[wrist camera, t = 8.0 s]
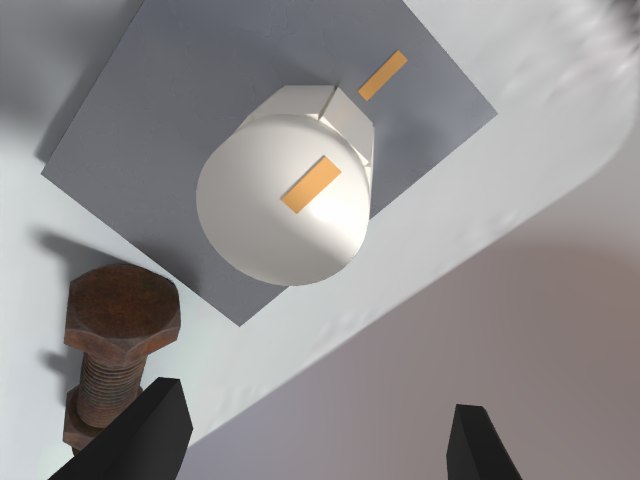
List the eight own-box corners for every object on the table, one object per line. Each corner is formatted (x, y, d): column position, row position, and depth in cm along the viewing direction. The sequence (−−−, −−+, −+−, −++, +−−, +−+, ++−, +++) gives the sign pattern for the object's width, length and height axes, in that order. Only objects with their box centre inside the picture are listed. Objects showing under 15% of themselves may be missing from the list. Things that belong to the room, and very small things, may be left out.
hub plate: (244, 314, 24) (224, 361, 21) (55, 166, 20) (-2, 195, 17) (492, 107, 17) (516, 132, 14) (259, -167, 13) (223, -215, 10)
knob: (314, 226, 19) (287, 312, 14) (228, 148, 18) (163, 211, 13) (399, 150, 17) (405, 220, 12) (308, 55, 16) (269, 85, 10)
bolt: (118, 397, 32) (150, 251, 24) (156, 449, 30) (205, 310, 22) (33, 445, 28) (38, 285, 20) (72, 509, 26) (95, 362, 18)
